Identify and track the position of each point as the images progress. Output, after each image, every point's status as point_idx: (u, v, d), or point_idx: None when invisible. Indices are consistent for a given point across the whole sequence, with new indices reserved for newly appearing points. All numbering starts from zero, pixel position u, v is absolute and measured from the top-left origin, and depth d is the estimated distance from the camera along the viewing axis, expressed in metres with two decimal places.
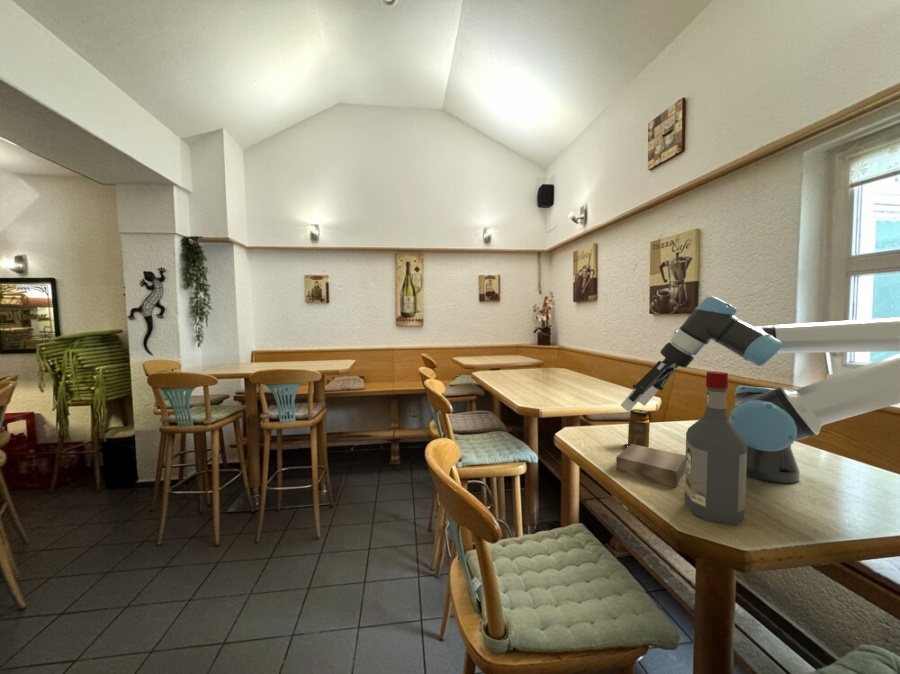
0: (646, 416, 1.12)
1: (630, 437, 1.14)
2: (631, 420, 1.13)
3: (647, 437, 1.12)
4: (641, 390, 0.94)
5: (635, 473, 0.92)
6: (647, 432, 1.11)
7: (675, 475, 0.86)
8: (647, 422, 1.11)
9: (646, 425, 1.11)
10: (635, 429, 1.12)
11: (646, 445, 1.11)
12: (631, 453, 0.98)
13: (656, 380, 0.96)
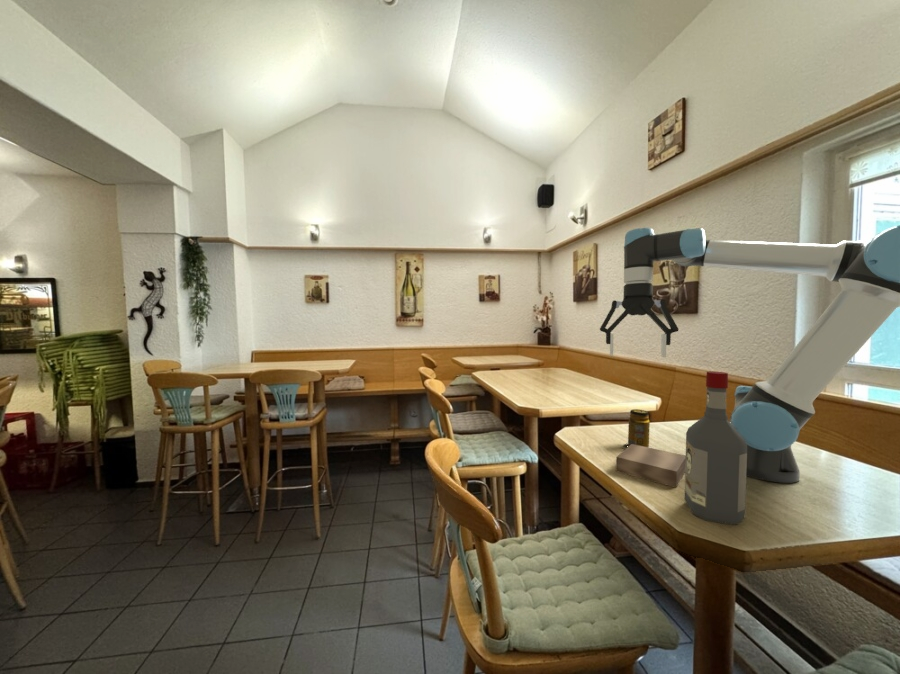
0: (646, 416, 1.12)
1: (630, 437, 1.14)
2: (631, 420, 1.13)
3: (647, 437, 1.12)
4: (600, 328, 1.06)
5: (635, 473, 0.92)
6: (647, 432, 1.11)
7: (675, 475, 0.86)
8: (647, 422, 1.11)
9: (646, 425, 1.11)
10: (635, 429, 1.12)
11: (646, 445, 1.11)
12: (631, 453, 0.98)
13: None
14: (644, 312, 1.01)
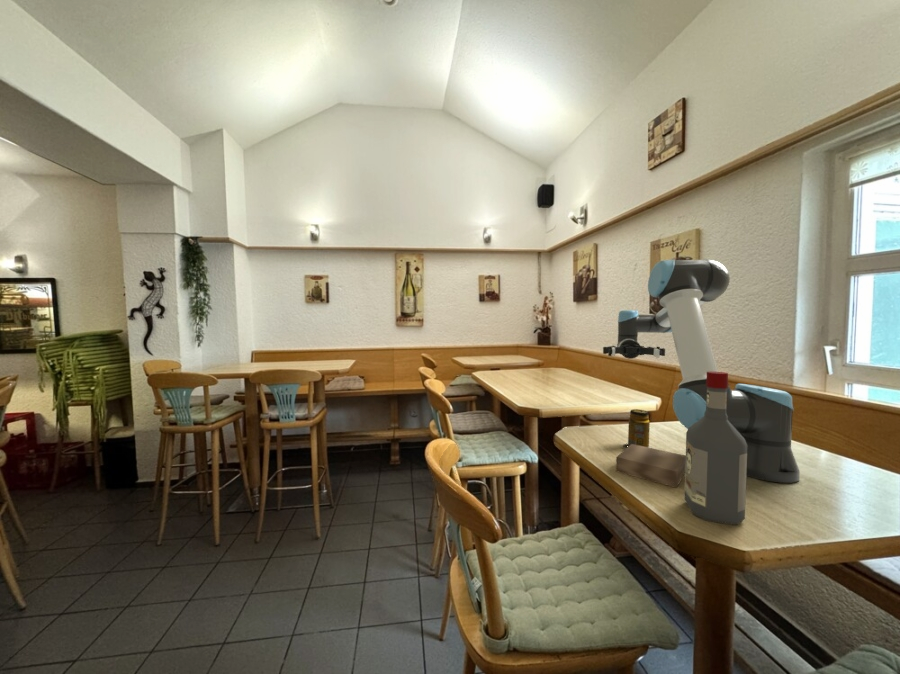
0: (646, 416, 1.12)
1: (630, 437, 1.14)
2: (631, 420, 1.13)
3: (647, 437, 1.12)
4: None
5: (635, 473, 0.92)
6: (647, 432, 1.11)
7: (675, 475, 0.86)
8: (647, 422, 1.11)
9: (646, 425, 1.11)
10: (635, 429, 1.12)
11: (646, 445, 1.11)
12: (631, 453, 0.98)
13: None
14: (636, 347, 1.32)
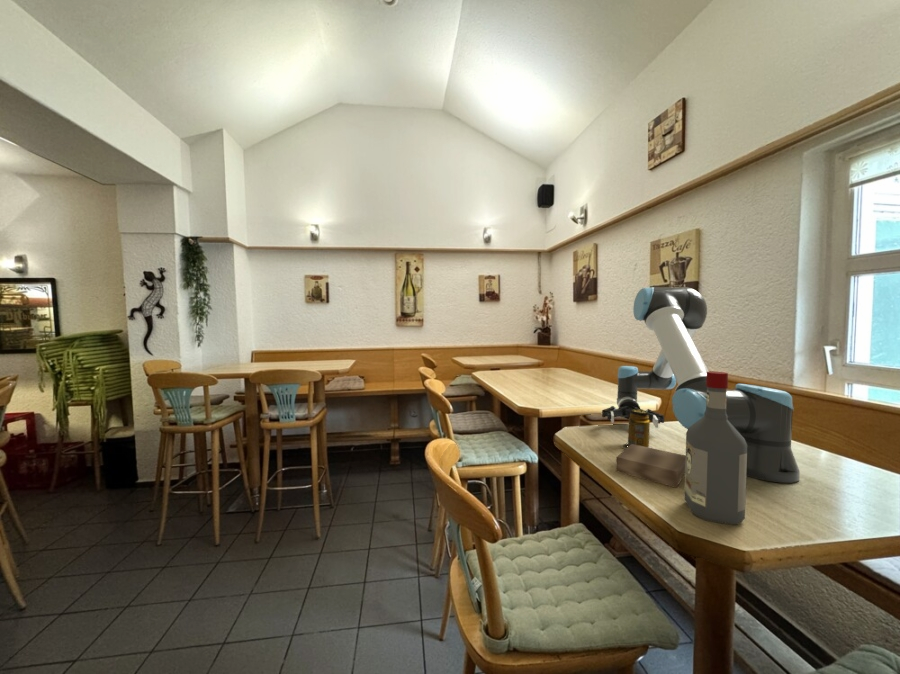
0: (646, 416, 1.12)
1: (630, 437, 1.14)
2: (631, 420, 1.13)
3: (647, 437, 1.12)
4: (602, 411, 1.32)
5: (635, 473, 0.92)
6: (647, 432, 1.11)
7: (675, 475, 0.86)
8: (647, 422, 1.11)
9: (646, 425, 1.11)
10: (635, 429, 1.12)
11: (646, 445, 1.11)
12: (631, 453, 0.98)
13: (616, 409, 1.33)
14: None
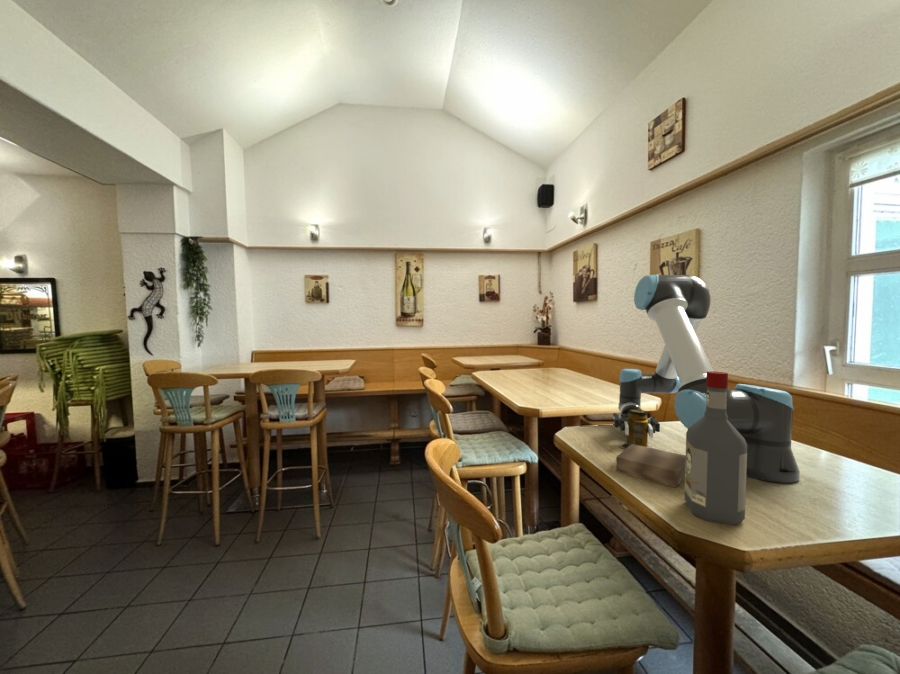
0: (644, 416, 1.12)
1: (628, 437, 1.14)
2: (630, 420, 1.13)
3: (645, 437, 1.12)
4: (614, 420, 1.19)
5: (635, 473, 0.92)
6: (645, 432, 1.11)
7: (675, 475, 0.86)
8: (645, 422, 1.11)
9: (644, 425, 1.11)
10: (634, 429, 1.12)
11: (644, 445, 1.12)
12: (631, 453, 0.98)
13: (624, 417, 1.21)
14: None
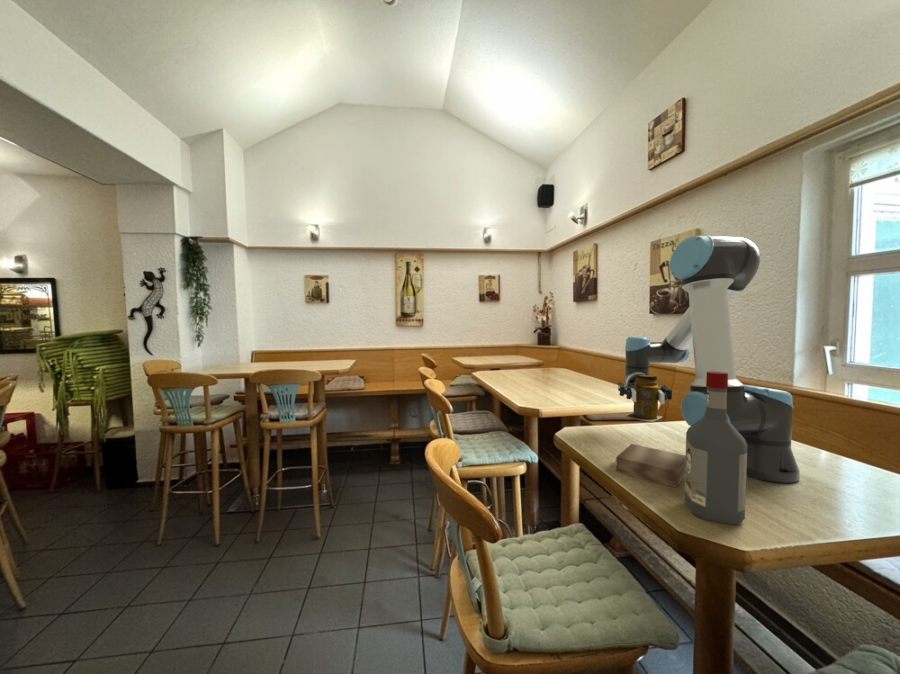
0: (654, 380, 0.98)
1: (636, 405, 1.00)
2: (637, 386, 0.99)
3: (655, 404, 0.97)
4: (619, 388, 1.05)
5: (635, 473, 0.92)
6: (655, 399, 0.97)
7: (675, 475, 0.86)
8: (655, 387, 0.97)
9: (654, 390, 0.97)
10: (642, 395, 0.98)
11: (654, 414, 0.97)
12: (631, 453, 0.98)
13: None
14: None
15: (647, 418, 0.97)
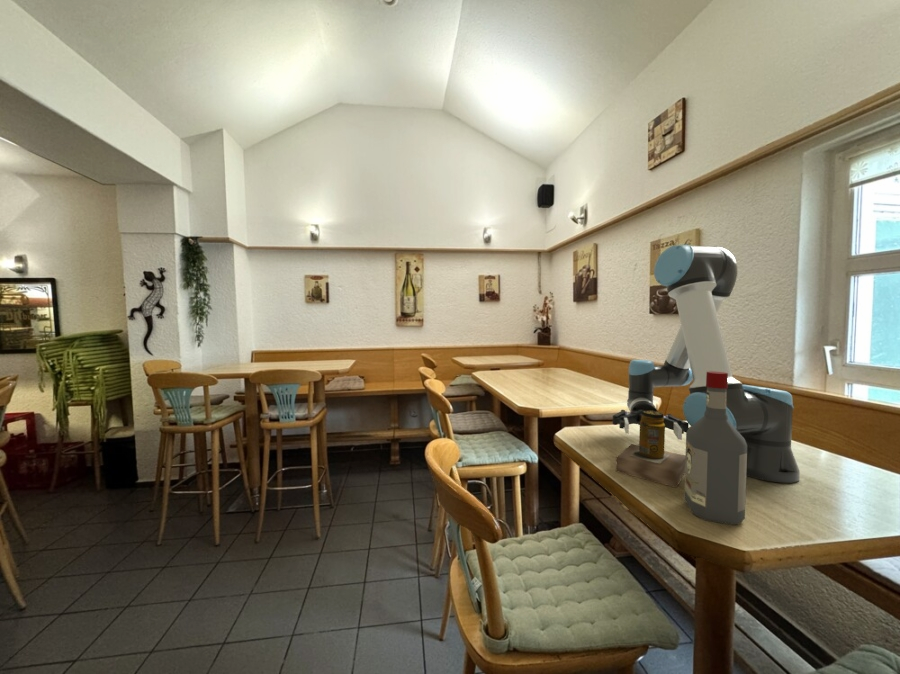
0: (661, 419, 0.94)
1: (642, 443, 0.96)
2: (643, 423, 0.95)
3: (662, 444, 0.94)
4: None
5: (635, 473, 0.92)
6: (662, 438, 0.93)
7: (675, 475, 0.86)
8: (662, 426, 0.93)
9: (661, 429, 0.93)
10: (648, 434, 0.94)
11: (661, 453, 0.94)
12: (631, 453, 0.98)
13: (629, 414, 1.05)
14: None
15: (653, 458, 0.94)
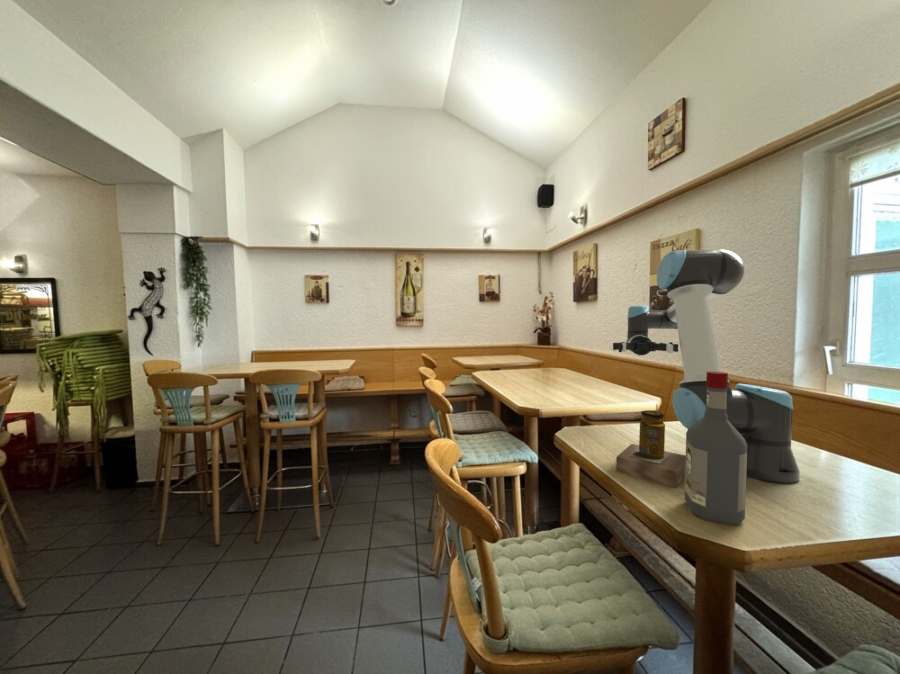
0: (661, 419, 0.94)
1: (642, 443, 0.96)
2: (643, 423, 0.95)
3: (662, 444, 0.94)
4: (613, 344, 1.27)
5: (635, 473, 0.92)
6: (662, 438, 0.93)
7: (675, 475, 0.86)
8: (662, 426, 0.93)
9: (661, 429, 0.93)
10: (648, 434, 0.94)
11: (661, 453, 0.94)
12: (631, 453, 0.98)
13: None
14: (648, 343, 1.27)
15: (653, 458, 0.94)
